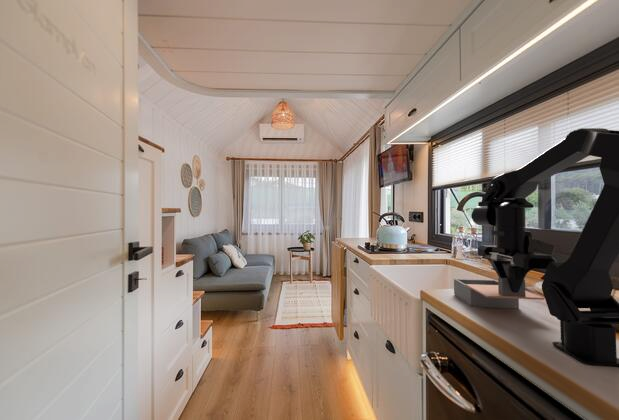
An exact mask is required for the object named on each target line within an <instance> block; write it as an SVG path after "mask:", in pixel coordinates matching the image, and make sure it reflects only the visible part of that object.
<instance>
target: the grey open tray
mask: <svg viewBox="0 0 619 420" xmlns="http://www.w3.org/2000/svg"><path fill="white" fill-rule="evenodd" d="M466 284H478V285H498V280H496V279H473V278H472V279H468V278H467V279H465V278H453V295H454V294H455V295H456V296H455V295H454V296H455V297H456V298H458V299H459V298H460V300H461V301H462V300H463V302H464V303H466V304H467V305H468V306H469V307H476V308H477V307H480V308H499V309H500V308H501V309H520V299H514V298H489V297H485V296H484V295H482V294H480V293H478V292H476V291H475V290H473V289H471V288H469V287H467V286H466Z"/></svg>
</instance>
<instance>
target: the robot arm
mask: <svg viewBox="0 0 619 420" xmlns="http://www.w3.org/2000/svg"><path fill="white" fill-rule="evenodd" d="M588 157H595V158H600V161H599V162H600V163H599V165H598V166H599V167H598V168H599V171H600V172H599V173H600V175H601V178H602V180H603V186H602V189H601V191H600V193H599V194H598V197H597V199H596V202H595V203H594V205H593V208H592V210H591V212H590V214H589V215H588V218H587V220H586V222H585V224H584V226H583V228H582V231H581V232H580V235H579V237H578V239H577V241H576V243H575V244H574V247H573V249H572V251H571V253H570V255H569V258H568V259H567V260H565V261H557V259H556V258H555V257H554V256H553V255H554V252H555V249H556V245H554V244H551V243H548V242H545V241H542V240H538V239H536V238H534V237H533V233H532V232H531V231H527V228H526V221H527V220H526V209H533V208H534V206H535V205H534V204H533V203H531V202H530V201H528V200H527V199H526V198H528V197H529V196H531V195H532V194H533V193H534V192H536V191H537V188H538V186H539V185H540V184H541V183H542V182H544V181H545V180H547V179H549V178H551V177H553V176H555V175H556V174H558V173H560V172H562V171H564V170H565V169H568V168H570V167H571V166H574V165H575V164H577V163H579V162H581V161H582V160H585V159H586V158H588ZM470 216H471V219H472V222H473V223H475V225H478V226H483V227H484V226H488V227H495V230H491V235H495V245H489V244H487V245H485V244H484V245H479V247H477V256H480V257H486V256H490V258H488V259H487V261H488V262H489V263H490V264H491V266H492V268H493V270H494V271H495V272H496V274H497V276H498V278H507V279H508V282H509V285H510V288H511V290H512V292H513V293H518V292H519V289H520V287H521V285H522V283H523V280H524V278H525V279H526V277H527V274H528V273H529V272H531V271H532V270H535V269H536V270H539V269H540V270H541V269H542V270H545V273H544V274H543V276H540V280H542V283H541V290H542V294H543V296H544V297H543V298H544V300H545V303H546V306H547V308H548V311H549V314H550V315H551V316H552V317H555V318H557V320H559V323H560V324H559V325H560V327H559V328H560V341H552V345H553V346H554V347H556V348H557V349H560V350H561V351H562V352H564V353H565V354H567V355H570V356H571V357H573V358H575V359H576V360H578V361H580V363H583V364H586V365H597V366H612V367H619V357H617V356H618V355H617V332H616V331H617V328H616V327H614V326H619V301H618V300H616V298H615V297H614V296H613V295H612V293H613V290H614V283H613V280H612V277H611V275H610V274H611V273H610V270H611V268H612V266H613V264H614V262H615V261H616V259H617V257H618V256H619V130H613V129H607V128H603V127H602V128H600V127H599V128H595V127H594V128H592V127H591V128H590V127H589V128H588V127H587V128H586V127H585V128H583V127H582V128H577V129H575V130H573V131H570V132H569V133H568V134H567V135H566V136H565V138H564V139H562V140H561V141H559V142H558V143H556V144H555V145H553V146H552V147H550V148H548V149H546V150H545V151H544V152H543V153H541V154H540V155H538V156H536V157H535V158H534V159H532V160H530V161H529V162H527V163H526V164H524V165H523V166H522V167H520V168H517V169H515V170H511V171H507V172H504V173H502V174H500V175H497V176H495V177H493V179H492V180H491V181H490V183H489V185H488V188H487V189H486V192H485V193H484V194H483V196H482V199H481V201H478V205H477V206H475V208H473V210H472V212H471V214H470ZM580 309H589V310H588V311H585V310H584V311H581V310H580Z"/></svg>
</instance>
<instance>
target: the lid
mask: <svg viewBox="0 0 619 420" xmlns="http://www.w3.org/2000/svg"><path fill="white" fill-rule="evenodd" d="M497 281H498V285H478V284H466V286H467V287H469V288H471V289H473V290H475V291H476V292H478V293H480V294H482V295H484V296H485V297H489V298H514V299H519V300H520V299H521V300H541V301H542V300H543V301H544V300H545V297H542V296H540V295H538V294H535V293H533V292H530V291H528V290H526V287H525V285H526V279H525V280H523V283H522V285H521V287H520V289H519V292H518V293H513V292H512V290H511V288H510V285H509V282H508V279H507V278H499V277H498V278H497Z"/></svg>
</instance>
